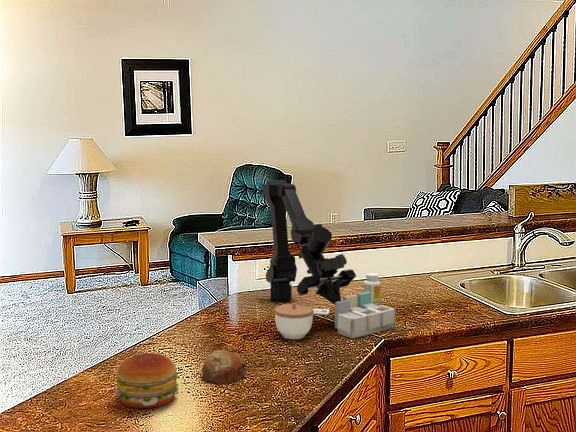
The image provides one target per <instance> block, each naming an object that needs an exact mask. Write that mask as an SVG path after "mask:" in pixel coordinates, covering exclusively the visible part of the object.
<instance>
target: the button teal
mask: <svg viewBox="0 0 576 432" xmlns="http://www.w3.org/2000/svg"><path fill="white" fill-rule="evenodd" d="M356 295H357V307H360V308H363V309H365V308H368V307H369V308H372V309H375V310H379V311H382V310H383V307H380V306H379V305H374V304H371V292H364V291H363V292H358V293H356Z"/></svg>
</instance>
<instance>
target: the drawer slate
mask: <svg viewBox="0 0 576 432" xmlns="http://www.w3.org/2000/svg"><path fill="white" fill-rule="evenodd" d="M338 314H342V315H345V316H348V317H350V318H355V317H360V315H357V314H354V313H351V312H350V300H343V299H341V301H338V302H335V305H334V328H335V329H337V330H338Z"/></svg>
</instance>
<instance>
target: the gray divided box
mask: <svg viewBox="0 0 576 432" xmlns="http://www.w3.org/2000/svg"><path fill="white" fill-rule="evenodd" d="M378 306H380V307H383V310H382V311H379V310H375V309H372V308H369V307H368V308H365V309H366V310H369V314H368V315H366V314H363V313H360V312H357V311H351V313H354V314H357V315H360V317H355V318H350V317H348V316H345V315H342V314H338V329H337V334H339V335H341V336H344V337H347V338H349V339H356V338H360V337H364V336H367V335H368V336H369V335H372V334H375V333H379V332H383V331H387V330H392V329H395V328H396V310H397V309H396V308H393V307H390V306H386V305H382V304H378Z"/></svg>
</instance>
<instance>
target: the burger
mask: <svg viewBox="0 0 576 432" xmlns="http://www.w3.org/2000/svg"><path fill="white" fill-rule="evenodd" d="M116 370H117V371H116V375H117V377H116V380H115V383H116V384H117V387H116V388H115V392H114V393H115V396H116V397H118V398H119V400H120V401H121V403H122V404H123V405H125V406H128V407H130V408H137V409H147V408H148V409H149V408H157V407H159V406H164V405H165V404H168V403H170V402H171V401H172V400H173V398H174V397H175V396H178V395H179V385H178V383H177V379H178V378H179V374H178V371H177V366H176V364H175V363H174V361H172V359H170V358H169V357H168V356H166V355H163V354H160V353H155V352H152V353H151V352H144V353H143V352H142V353H139V354H134V355H132V356H130V357H128V358H126V359H125V360H124V361H122V363H121V364H120V365H119V367H118V368H117V369H116Z"/></svg>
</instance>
